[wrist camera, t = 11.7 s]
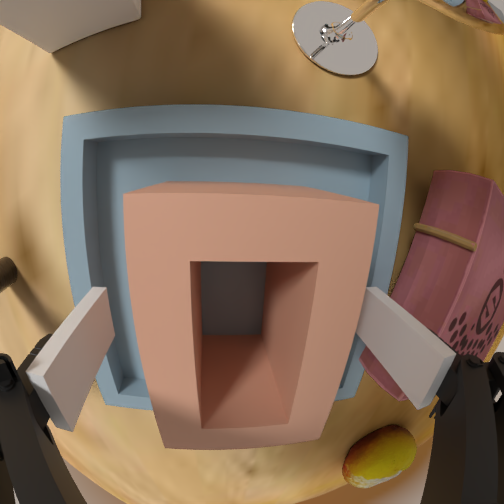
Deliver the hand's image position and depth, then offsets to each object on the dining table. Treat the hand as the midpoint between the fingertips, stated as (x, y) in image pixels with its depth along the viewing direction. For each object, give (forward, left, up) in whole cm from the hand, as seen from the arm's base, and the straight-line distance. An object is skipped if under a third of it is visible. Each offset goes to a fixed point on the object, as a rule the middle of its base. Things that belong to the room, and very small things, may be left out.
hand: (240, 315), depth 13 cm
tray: (0, 0, -5) cm, 5 cm away
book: (0, +17, -4) cm, 18 cm away
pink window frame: (0, 0, -4) cm, 4 cm away
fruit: (+26, +19, -5) cm, 33 cm away
